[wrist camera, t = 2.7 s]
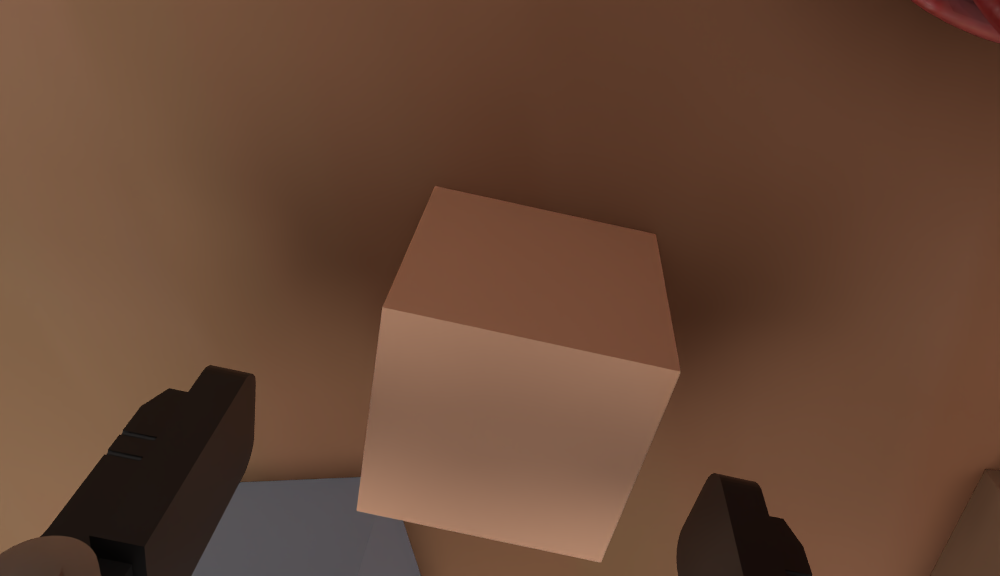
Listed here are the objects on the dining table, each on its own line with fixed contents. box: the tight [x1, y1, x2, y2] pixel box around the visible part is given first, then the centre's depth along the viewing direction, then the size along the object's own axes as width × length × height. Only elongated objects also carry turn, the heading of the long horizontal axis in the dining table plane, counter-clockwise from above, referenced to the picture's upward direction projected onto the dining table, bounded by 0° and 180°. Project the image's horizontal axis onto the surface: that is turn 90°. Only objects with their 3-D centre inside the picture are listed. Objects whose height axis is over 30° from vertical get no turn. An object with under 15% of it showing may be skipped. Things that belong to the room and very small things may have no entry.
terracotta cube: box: [357, 186, 681, 562], centre depth 15 cm, size 5×5×5 cm
